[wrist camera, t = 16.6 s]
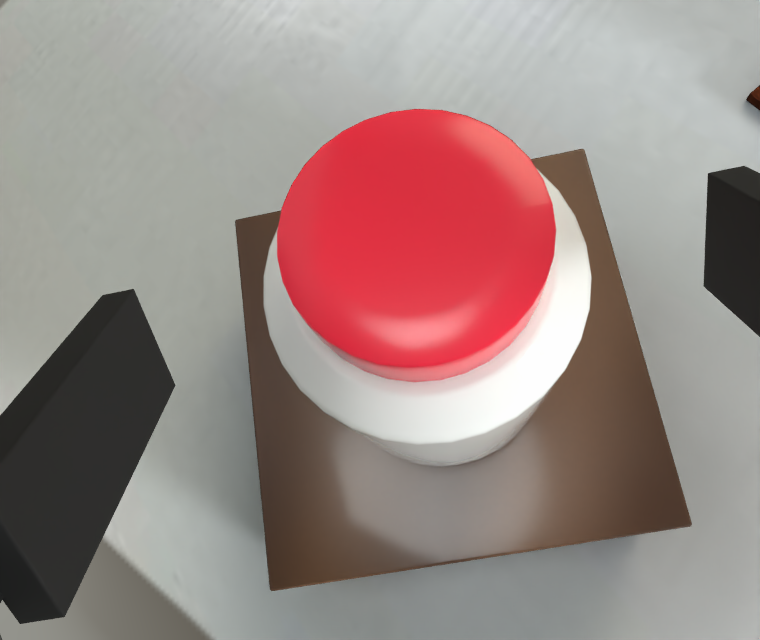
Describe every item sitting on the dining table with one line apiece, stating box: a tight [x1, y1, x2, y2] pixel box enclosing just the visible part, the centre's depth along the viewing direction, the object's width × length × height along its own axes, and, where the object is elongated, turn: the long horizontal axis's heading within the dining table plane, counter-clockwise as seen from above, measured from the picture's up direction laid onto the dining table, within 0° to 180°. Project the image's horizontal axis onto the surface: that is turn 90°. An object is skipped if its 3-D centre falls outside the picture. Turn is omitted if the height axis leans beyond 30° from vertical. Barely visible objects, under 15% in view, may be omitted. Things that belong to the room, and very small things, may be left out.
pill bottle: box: [264, 109, 592, 466], centre depth 18 cm, size 8×8×11 cm
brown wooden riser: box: [235, 149, 692, 591], centre depth 26 cm, size 14×14×6 cm
